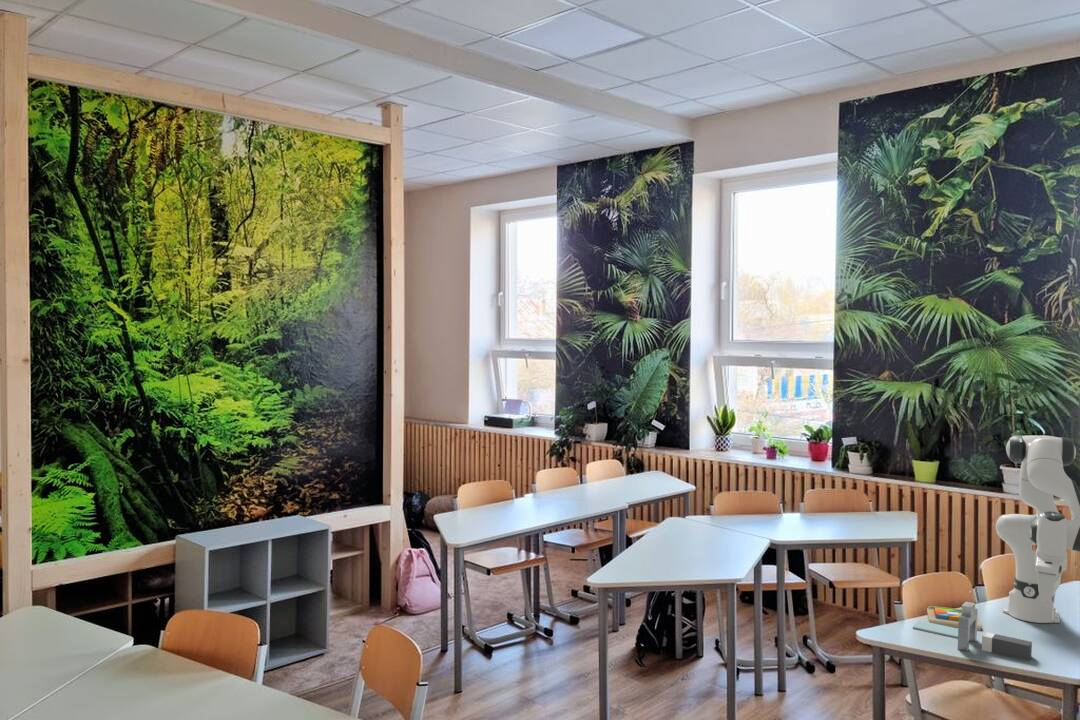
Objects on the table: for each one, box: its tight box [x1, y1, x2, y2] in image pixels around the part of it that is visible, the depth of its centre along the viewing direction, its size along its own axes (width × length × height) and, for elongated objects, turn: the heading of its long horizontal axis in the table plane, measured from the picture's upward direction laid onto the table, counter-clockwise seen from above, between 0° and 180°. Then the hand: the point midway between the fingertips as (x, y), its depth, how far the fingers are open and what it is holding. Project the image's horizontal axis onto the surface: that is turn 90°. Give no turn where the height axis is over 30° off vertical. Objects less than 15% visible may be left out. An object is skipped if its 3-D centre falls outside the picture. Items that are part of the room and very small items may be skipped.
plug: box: [981, 631, 1033, 662], centre depth 285 cm, size 5×14×5 cm, turn 51°
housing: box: [957, 601, 978, 652], centre depth 292 cm, size 14×3×14 cm, turn 141°
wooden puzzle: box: [926, 605, 983, 632], centre depth 318 cm, size 18×19×4 cm
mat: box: [912, 620, 958, 639], centre depth 306 cm, size 9×18×1 cm, turn 51°
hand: (1049, 604), depth 277 cm, fingers open, 4 cm apart
